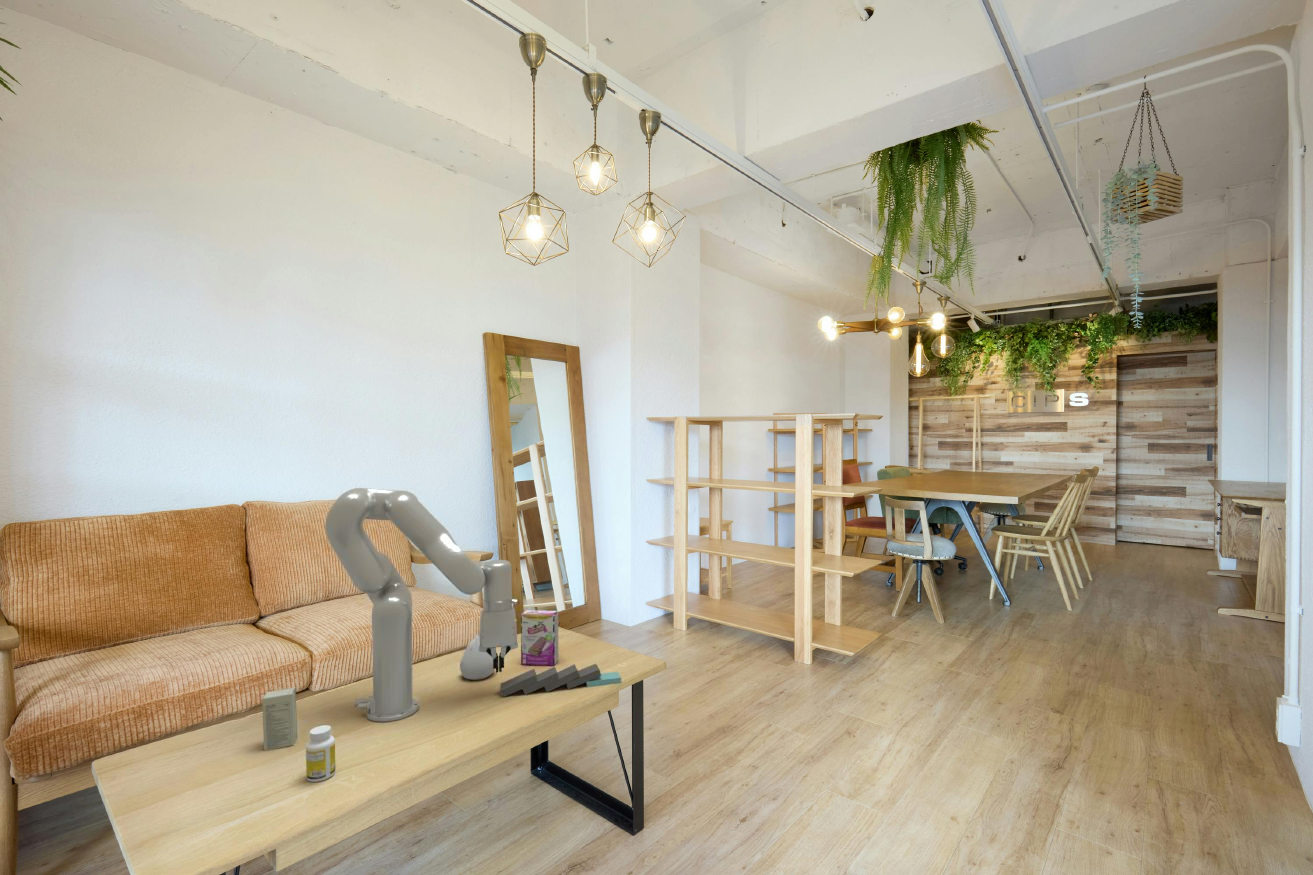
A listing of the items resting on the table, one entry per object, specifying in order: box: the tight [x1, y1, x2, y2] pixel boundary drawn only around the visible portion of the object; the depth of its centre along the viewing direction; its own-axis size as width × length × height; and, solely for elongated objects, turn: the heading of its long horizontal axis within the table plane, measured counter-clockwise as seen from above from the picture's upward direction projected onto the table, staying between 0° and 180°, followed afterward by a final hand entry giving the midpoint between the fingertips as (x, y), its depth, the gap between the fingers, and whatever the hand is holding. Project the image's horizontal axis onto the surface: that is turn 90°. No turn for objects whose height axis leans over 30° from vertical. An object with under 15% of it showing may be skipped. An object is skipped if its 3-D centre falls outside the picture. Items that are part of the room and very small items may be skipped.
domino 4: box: [565, 663, 602, 690], centre depth 175 cm, size 2×5×10 cm
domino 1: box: [499, 668, 537, 698], centre depth 170 cm, size 2×5×10 cm
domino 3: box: [543, 663, 580, 693], centre depth 173 cm, size 2×5×10 cm
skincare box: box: [261, 687, 298, 751], centre depth 141 cm, size 6×4×12 cm
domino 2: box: [522, 666, 559, 696], centre depth 171 cm, size 2×5×10 cm
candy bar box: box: [520, 609, 559, 667], centre depth 192 cm, size 11×5×16 cm, turn 84°
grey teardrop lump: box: [459, 634, 495, 681], centre depth 182 cm, size 10×10×12 cm
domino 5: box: [584, 671, 622, 688], centre depth 176 cm, size 2×5×10 cm
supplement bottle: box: [305, 724, 336, 783], centre depth 127 cm, size 5×5×10 cm
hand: (498, 670), depth 168 cm, fingers closed
